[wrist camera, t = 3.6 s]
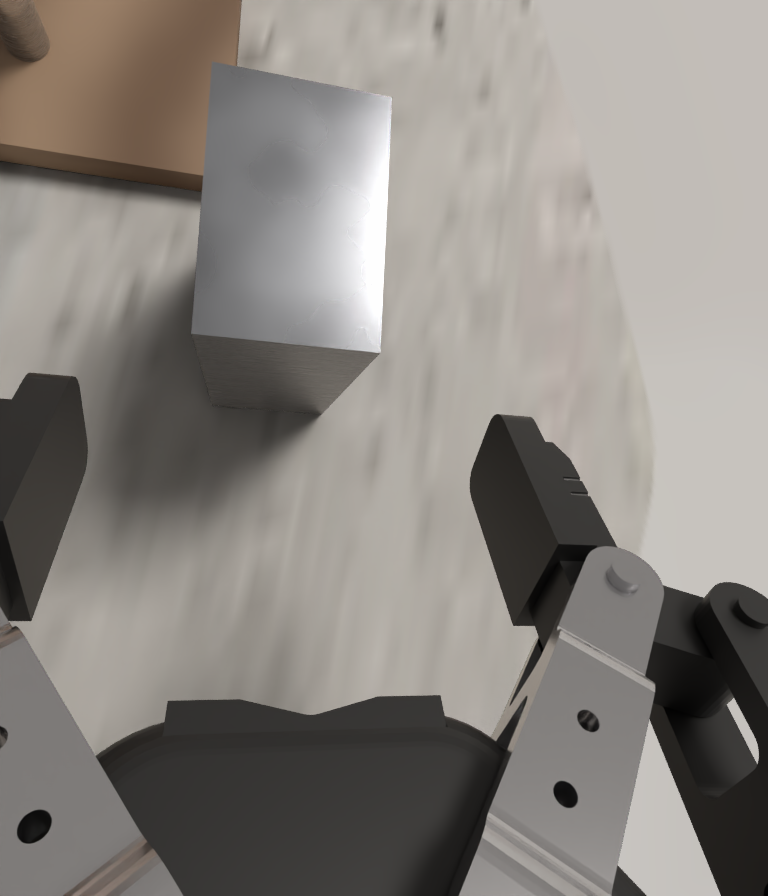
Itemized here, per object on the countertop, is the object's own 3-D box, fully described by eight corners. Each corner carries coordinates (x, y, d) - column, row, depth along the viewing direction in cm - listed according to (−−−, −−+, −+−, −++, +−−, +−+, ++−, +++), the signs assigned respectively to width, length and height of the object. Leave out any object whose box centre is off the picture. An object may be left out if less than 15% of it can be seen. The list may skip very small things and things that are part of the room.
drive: (212, 405, 22) (191, 333, 13) (224, 245, 23) (212, 58, 13) (321, 414, 23) (379, 353, 14) (330, 259, 24) (392, 94, 14)
